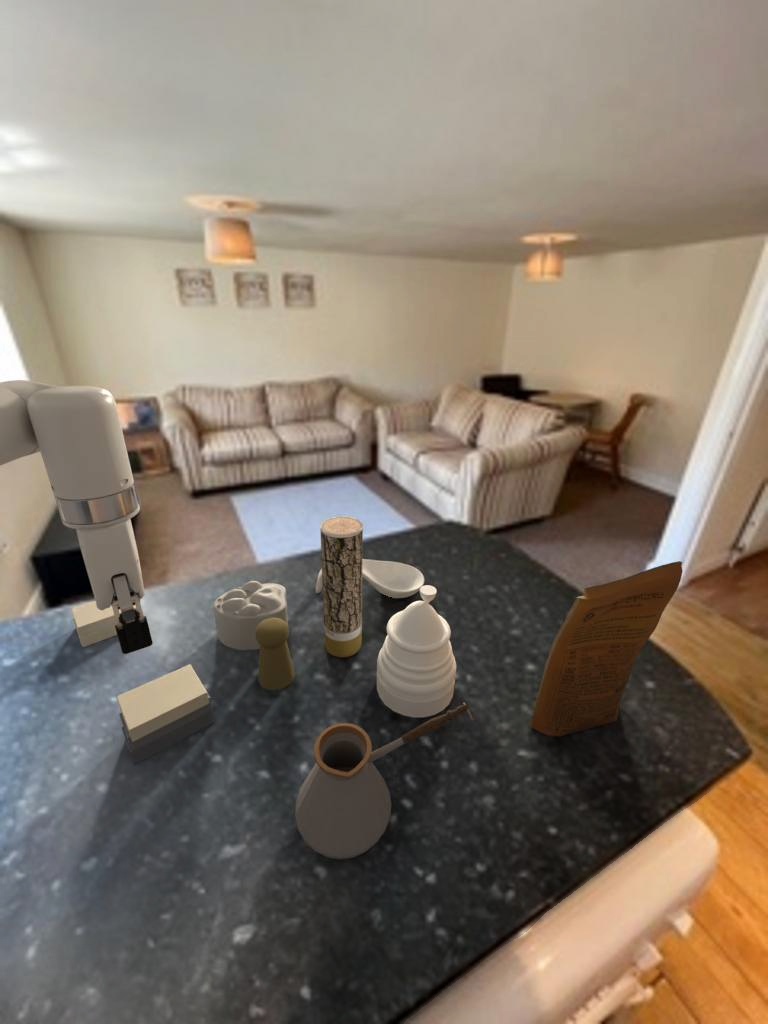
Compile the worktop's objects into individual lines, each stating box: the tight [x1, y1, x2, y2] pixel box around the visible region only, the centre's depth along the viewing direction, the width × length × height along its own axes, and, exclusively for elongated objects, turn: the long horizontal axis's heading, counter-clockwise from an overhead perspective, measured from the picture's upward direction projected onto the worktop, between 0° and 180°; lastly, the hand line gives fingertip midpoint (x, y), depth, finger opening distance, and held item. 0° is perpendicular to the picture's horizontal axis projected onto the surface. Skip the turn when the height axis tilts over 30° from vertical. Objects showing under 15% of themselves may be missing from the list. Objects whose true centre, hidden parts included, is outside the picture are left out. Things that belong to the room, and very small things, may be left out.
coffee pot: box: [294, 702, 474, 860], centre depth 53 cm, size 21×12×15 cm, turn 106°
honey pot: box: [376, 584, 457, 718], centre depth 71 cm, size 13×13×18 cm
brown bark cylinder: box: [319, 515, 364, 658], centre depth 77 cm, size 7×7×25 cm
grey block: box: [119, 692, 215, 765], centre depth 64 cm, size 11×5×5 cm, turn 130°
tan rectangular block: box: [70, 600, 137, 648], centre depth 85 cm, size 10×7×4 cm
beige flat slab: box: [116, 663, 209, 742], centre depth 63 cm, size 10×7×2 cm
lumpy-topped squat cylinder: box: [212, 580, 290, 651], centre depth 84 cm, size 10×13×9 cm
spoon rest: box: [315, 558, 425, 599], centre depth 97 cm, size 24×12×7 cm, turn 91°
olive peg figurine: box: [255, 618, 296, 691], centre depth 73 cm, size 6×6×11 cm
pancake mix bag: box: [528, 560, 684, 738], centre depth 63 cm, size 7×19×28 cm, turn 106°
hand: (132, 625), depth 57 cm, fingers open, 9 cm apart
